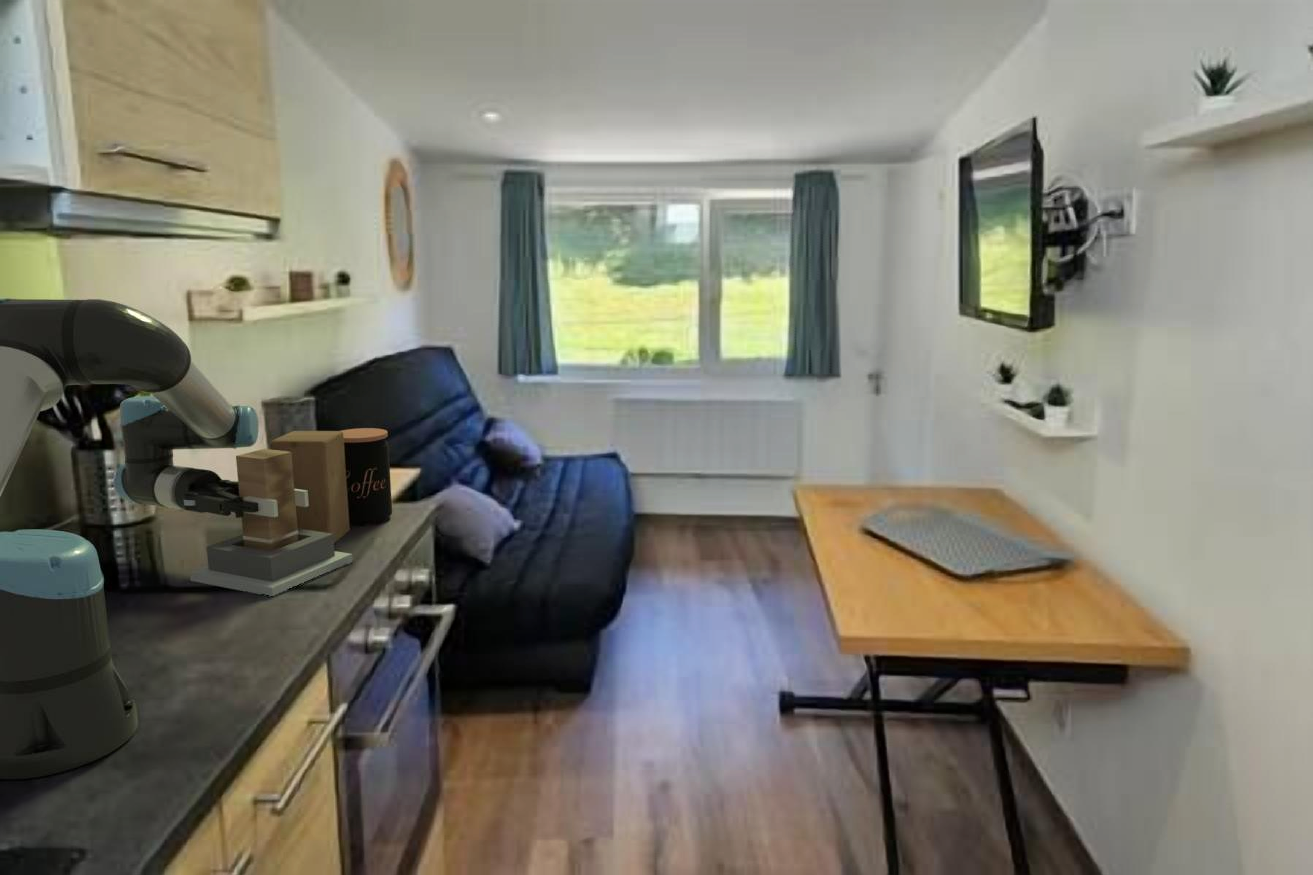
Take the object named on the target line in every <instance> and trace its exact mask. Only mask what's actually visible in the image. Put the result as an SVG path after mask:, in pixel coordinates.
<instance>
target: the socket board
mask: <svg viewBox="0 0 1313 875" xmlns="http://www.w3.org/2000/svg"><path fill="white" fill-rule="evenodd" d="M297 529H298V528H297ZM206 556H207V557H206V558H207V564H208V565H206V566H203V567H200V568H198V569H194V570H191V571H190V572H189V576H190V577H189V578H190V582H195V583H200V584H204V585H205V584H206V585H209V586H215V587H220V588H221V587H222V588H225V589H226V588H227V589H229V590H235V591H242V592H246V591H247V592H246V593H251V594H256V595H261V594H265V595H264V596H266V595H269V596H268V597H271V596H274V595H276V594H278V595H280V594H279V593H281V592H282V591H285V592H287V591H288V590H287V589H289V588H292V587H293V586H297V585H299V584H300V583H303V584H305V583H304V582H305V581H307V580H310V579H312V578H314V577H317V576H319V575H322V574H324V573H326V572H329V573H331V572H332V571H331V570H333V569H336V568H338V567H340V568H342V567H344V566H343V565H345V564H347V565H349V564H351V562H352V563H353V553H349V552H341V551H335V543H334V536H333V534H331V533H325V532H318V531H312V530H305V529H298V541H297V542H295V543H292V544H289V545H287V546H284V547H281V548H279V549H276V550H273V551H265V550H259V549H253V548H247V547H244V539H243V534H240V535H238V536H234V537H233V538H232V537H231V538H228V539H226V540H223V541H221V542H220V541H219V542H217V543H214V544H211V545H208V546H206ZM341 566H342V567H341ZM345 566H346V565H345ZM338 569H339V568H338ZM336 570H337V569H336ZM330 571H331V572H330ZM333 571H334V570H333ZM326 574H327V573H326ZM324 575H325V574H324ZM322 576H323V575H322ZM319 577H320V576H319ZM317 578H318V577H317ZM310 581H311V580H310ZM299 586H300V585H299ZM297 587H298V586H297ZM292 589H293V588H292ZM286 590H287V591H286ZM281 594H282V593H281ZM276 596H277V595H276ZM274 597H275V596H274Z"/></svg>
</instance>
